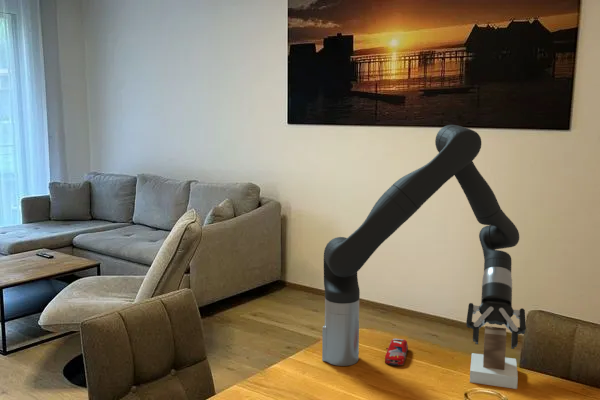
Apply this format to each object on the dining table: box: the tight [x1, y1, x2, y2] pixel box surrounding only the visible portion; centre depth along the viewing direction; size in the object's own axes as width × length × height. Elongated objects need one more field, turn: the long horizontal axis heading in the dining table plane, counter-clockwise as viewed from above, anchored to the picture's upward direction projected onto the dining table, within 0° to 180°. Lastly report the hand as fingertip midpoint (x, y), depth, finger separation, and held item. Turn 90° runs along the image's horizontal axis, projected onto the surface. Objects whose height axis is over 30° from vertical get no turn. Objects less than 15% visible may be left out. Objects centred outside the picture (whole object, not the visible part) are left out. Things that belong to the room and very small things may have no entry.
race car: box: [384, 338, 409, 366], centre depth 152 cm, size 13×5×4 cm, turn 162°
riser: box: [469, 352, 519, 390], centre depth 141 cm, size 11×11×3 cm
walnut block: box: [483, 325, 507, 370], centre depth 140 cm, size 5×5×9 cm
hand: (494, 345), depth 139 cm, fingers open, 8 cm apart
